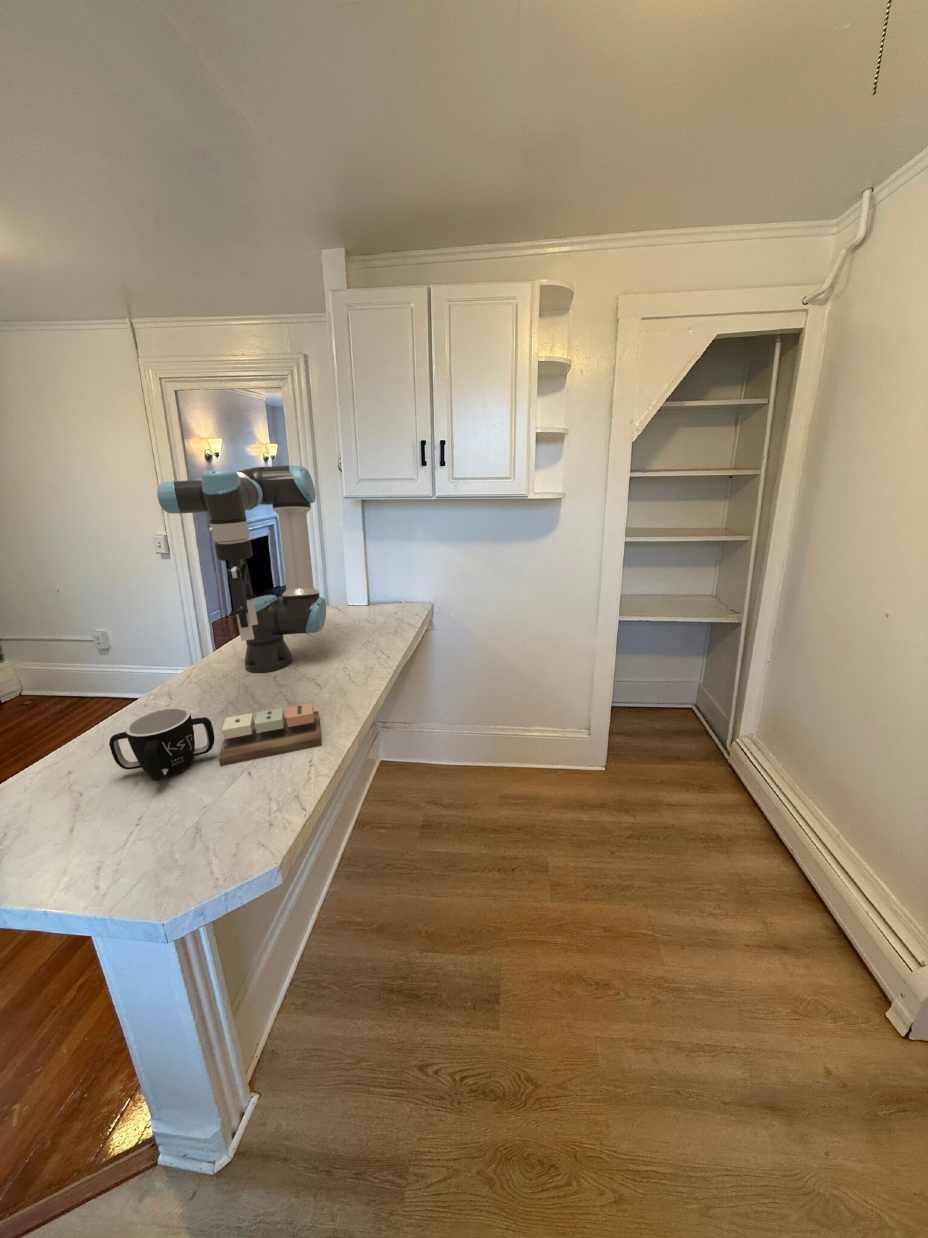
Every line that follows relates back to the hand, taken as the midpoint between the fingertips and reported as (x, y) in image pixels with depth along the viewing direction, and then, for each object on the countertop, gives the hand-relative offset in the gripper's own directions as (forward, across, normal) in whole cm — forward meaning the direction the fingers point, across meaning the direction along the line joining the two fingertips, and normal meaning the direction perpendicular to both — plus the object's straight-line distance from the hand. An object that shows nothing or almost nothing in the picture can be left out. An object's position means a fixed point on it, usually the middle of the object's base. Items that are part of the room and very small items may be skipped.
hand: (250, 631), depth 115 cm
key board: (+26, +8, +2) cm, 27 cm away
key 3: (+22, +8, +9) cm, 25 cm away
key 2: (+22, +8, +2) cm, 23 cm away
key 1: (+22, +8, -5) cm, 24 cm away
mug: (+26, +11, -20) cm, 35 cm away
